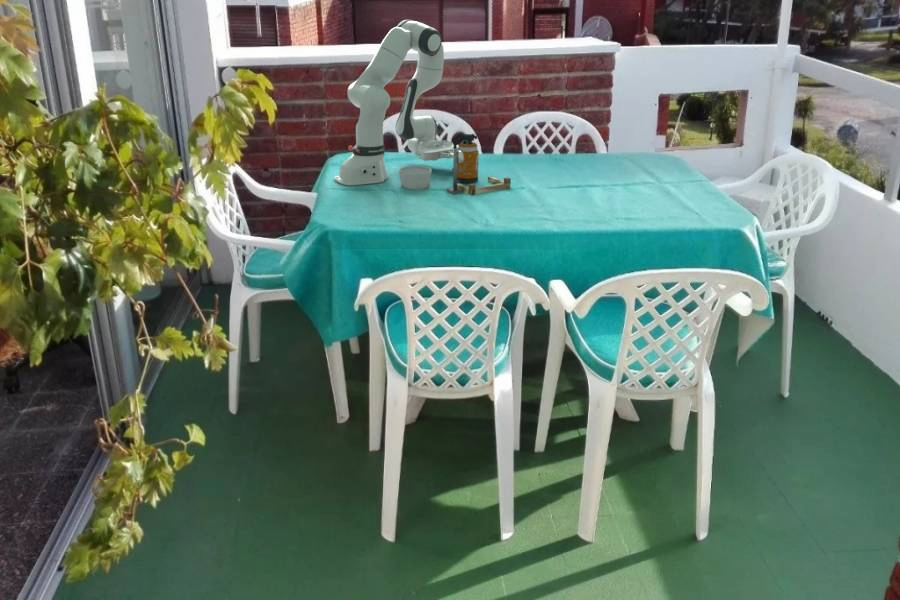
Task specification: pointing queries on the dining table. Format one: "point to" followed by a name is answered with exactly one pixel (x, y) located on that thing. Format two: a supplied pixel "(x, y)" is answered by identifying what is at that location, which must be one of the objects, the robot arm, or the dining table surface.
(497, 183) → the cradle
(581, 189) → the dining table surface
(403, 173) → the ramekin
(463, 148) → the canister
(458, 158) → the mirror on stand
